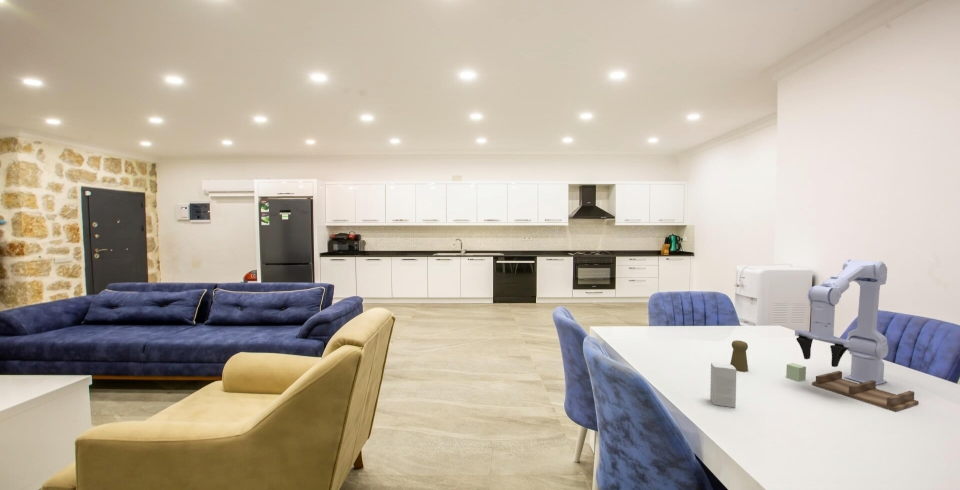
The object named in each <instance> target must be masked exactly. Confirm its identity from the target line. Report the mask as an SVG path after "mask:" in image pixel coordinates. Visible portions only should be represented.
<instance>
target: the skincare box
mask: <svg viewBox="0 0 960 490" xmlns="http://www.w3.org/2000/svg"><path fill="white" fill-rule="evenodd" d="M709 391H710V395H709V396H710V398H709V399H710V402H711V404H712V405H713V406H720V407H721V406H722V407H727V408H728V407H729V408H736V406H737V404H736V400H737V371H736V368H735V367H734V366H733V365H730V364H728V363H727V364H726V363H718V362H711V363H710V390H709Z"/></svg>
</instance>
